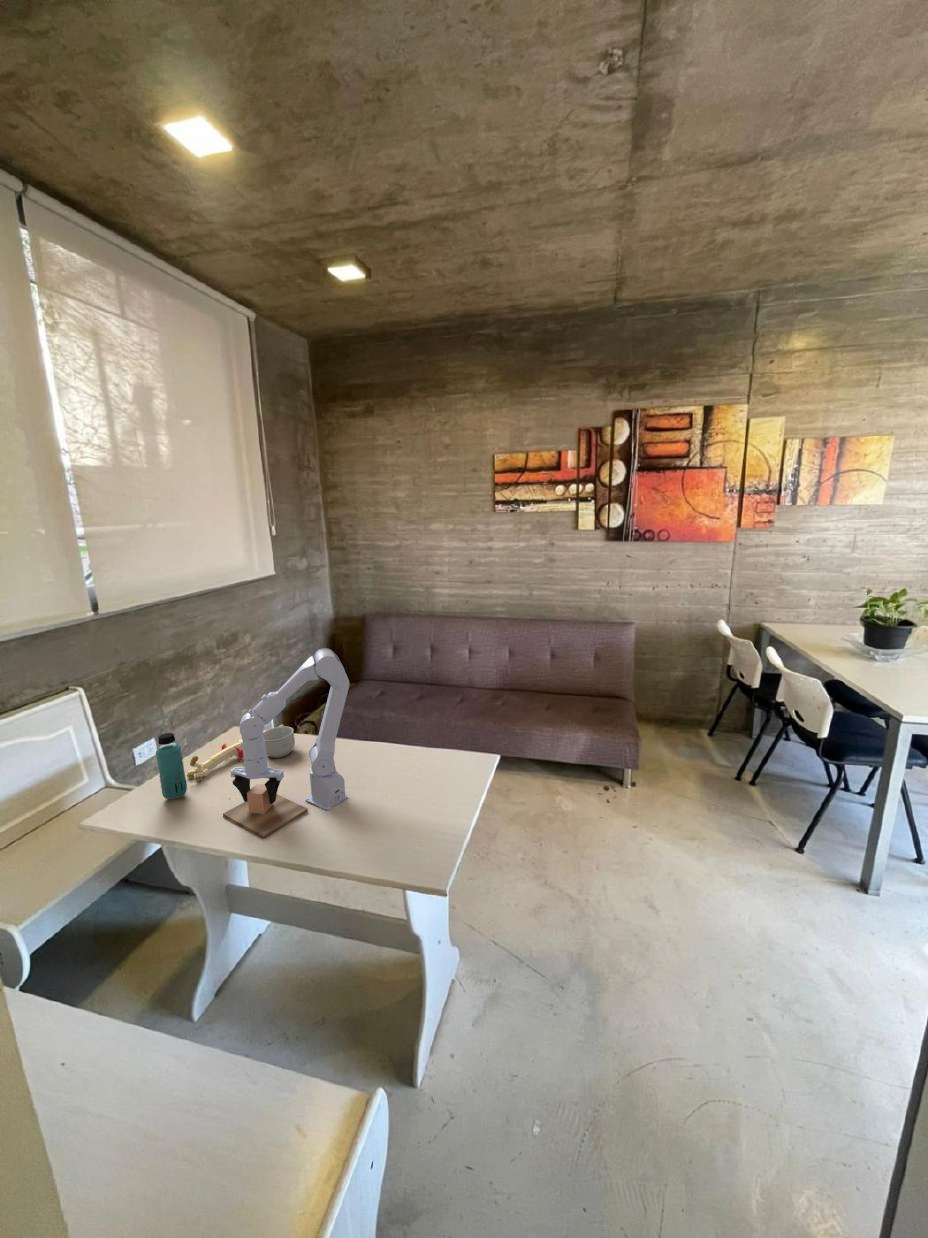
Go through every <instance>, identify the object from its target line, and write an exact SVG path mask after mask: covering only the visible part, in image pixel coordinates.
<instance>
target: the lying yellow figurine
mask: <svg viewBox="0 0 928 1238" xmlns="http://www.w3.org/2000/svg"><path fill="white" fill-rule="evenodd" d="M242 741H243V740H242V738H240V739H238V740H237V742H235V743H233V744H231V745H230V746H227V743H224V744H222V746H221V748H220V749H221V750H220V751H218V752H217V753H215V754H213V755H212V756H210V757H208V759H206V760H205V761H202V762H201V763H198V762H197V761H198V760H199V756H197V755H193V756H192V758H191V760H190V762H189V765H190V767H193V769H190V770H188V771H187V774H186V778H187V779H188V780H193V779H194V780H195V781H196V782H198V783H199V782H201V781H203V777H206V776H208V775H209V774H210V771H212V770H213V769H215V768H216V767H217V766H218V765H220V764H221V763H223V762H224V761H226V760H228V759H229V758H232V757H233V756H236V755H237V756H238V762H241V761H243V759H244V756H243V748H242Z"/></svg>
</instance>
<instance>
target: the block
mask: <svg viewBox="0 0 928 1238" xmlns="http://www.w3.org/2000/svg"><path fill="white" fill-rule="evenodd" d="M247 798H248V807H249V813H259V814H265V813H266V812H267V811H268V809H269V808H270V807H271V806H272V805H273V804H270V803H269V796H268V792H267V789H266V787H265V784H258V783H255V785H254V786H253V787H252V788H250V791H248V792H247Z"/></svg>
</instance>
